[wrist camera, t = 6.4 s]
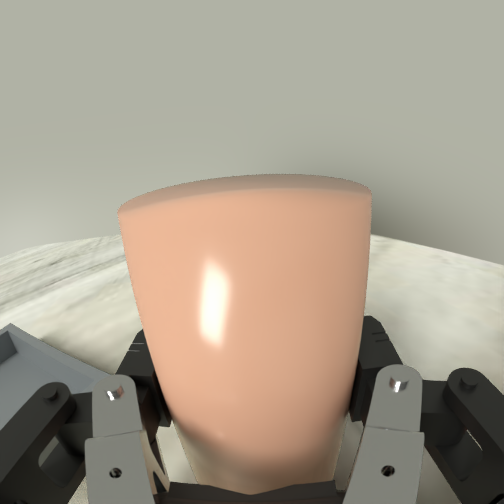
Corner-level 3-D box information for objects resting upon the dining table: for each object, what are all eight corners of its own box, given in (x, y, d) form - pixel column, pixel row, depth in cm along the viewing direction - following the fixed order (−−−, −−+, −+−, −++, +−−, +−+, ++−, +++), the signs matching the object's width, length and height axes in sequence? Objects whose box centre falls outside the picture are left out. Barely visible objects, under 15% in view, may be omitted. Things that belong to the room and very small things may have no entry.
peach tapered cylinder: (342, 444, 13) (372, 176, 9) (310, 545, 8) (367, 236, 4) (233, 422, 15) (199, 176, 11) (180, 506, 10) (65, 223, 6)
